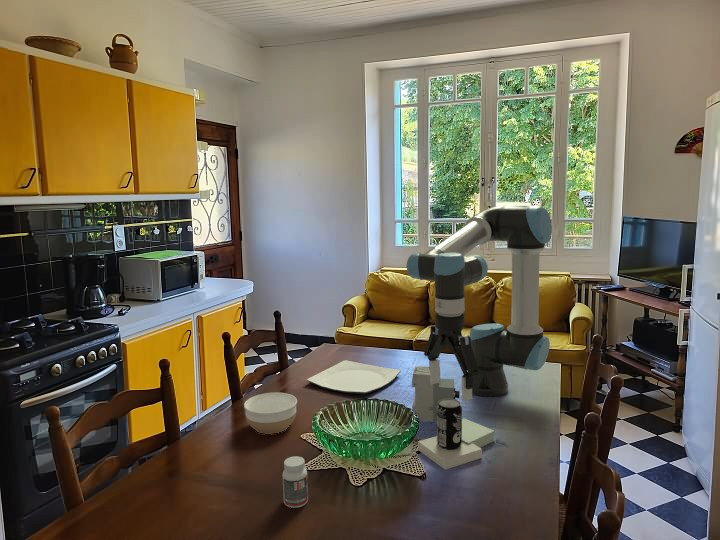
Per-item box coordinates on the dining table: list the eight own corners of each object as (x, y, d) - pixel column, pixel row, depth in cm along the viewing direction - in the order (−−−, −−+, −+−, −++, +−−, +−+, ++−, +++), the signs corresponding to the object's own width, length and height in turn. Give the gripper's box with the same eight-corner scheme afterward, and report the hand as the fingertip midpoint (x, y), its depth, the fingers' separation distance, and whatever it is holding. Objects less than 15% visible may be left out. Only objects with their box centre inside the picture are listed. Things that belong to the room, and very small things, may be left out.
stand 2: (464, 427, 157) (464, 418, 157) (494, 440, 149) (494, 430, 148) (438, 439, 150) (438, 429, 150) (468, 453, 142) (468, 442, 141)
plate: (405, 376, 203) (405, 369, 203) (367, 401, 179) (367, 394, 179) (344, 364, 218) (344, 358, 218) (301, 387, 195) (301, 380, 194)
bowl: (234, 428, 161) (233, 403, 160) (276, 411, 172) (275, 388, 171) (266, 444, 150) (265, 417, 149) (309, 425, 161) (308, 400, 160)
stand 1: (453, 439, 150) (453, 431, 150) (481, 457, 139) (481, 448, 139) (418, 450, 144) (418, 441, 144) (445, 469, 134) (445, 460, 133)
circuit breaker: (459, 423, 160) (459, 376, 158) (412, 420, 163) (411, 373, 161) (459, 413, 168) (459, 368, 165) (414, 410, 170) (414, 366, 168)
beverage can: (463, 441, 144) (463, 399, 142) (459, 452, 137) (459, 408, 136) (439, 437, 146) (439, 396, 144) (434, 448, 140) (434, 405, 138)
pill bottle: (312, 503, 121) (311, 462, 119) (290, 512, 118) (288, 470, 116) (301, 491, 125) (299, 452, 124) (279, 499, 122) (277, 459, 121)
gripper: (410, 306, 145) (412, 379, 149) (469, 325, 124) (469, 411, 127) (433, 302, 149) (433, 374, 152) (494, 321, 127) (493, 404, 130)
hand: (450, 391), depth 140 cm, fingers open, 13 cm apart
